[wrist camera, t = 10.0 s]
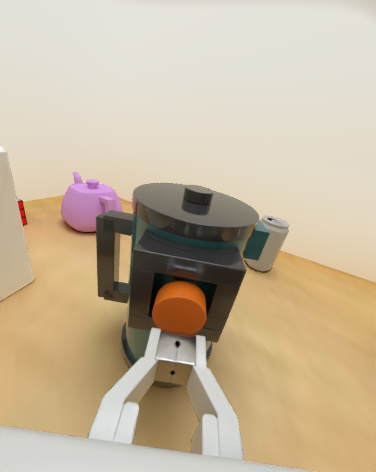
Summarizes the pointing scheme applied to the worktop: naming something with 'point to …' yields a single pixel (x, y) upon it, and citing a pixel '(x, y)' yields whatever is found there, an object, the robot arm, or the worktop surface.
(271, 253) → the beverage can
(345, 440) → the worktop surface
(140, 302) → the jug
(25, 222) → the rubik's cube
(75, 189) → the teapot
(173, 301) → the jug button
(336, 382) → the worktop surface
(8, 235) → the milk
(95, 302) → the worktop surface
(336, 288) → the worktop surface
